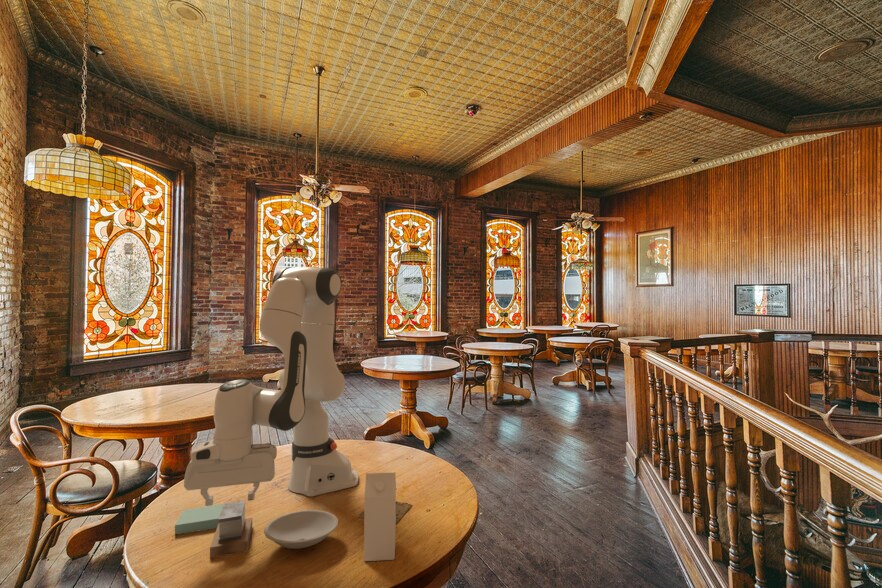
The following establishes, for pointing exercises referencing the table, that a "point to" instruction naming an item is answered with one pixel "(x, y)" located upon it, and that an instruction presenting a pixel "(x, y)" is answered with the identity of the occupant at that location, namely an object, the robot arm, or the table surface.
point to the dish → (301, 528)
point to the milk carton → (379, 516)
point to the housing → (232, 521)
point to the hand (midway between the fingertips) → (230, 502)
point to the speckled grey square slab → (400, 511)
